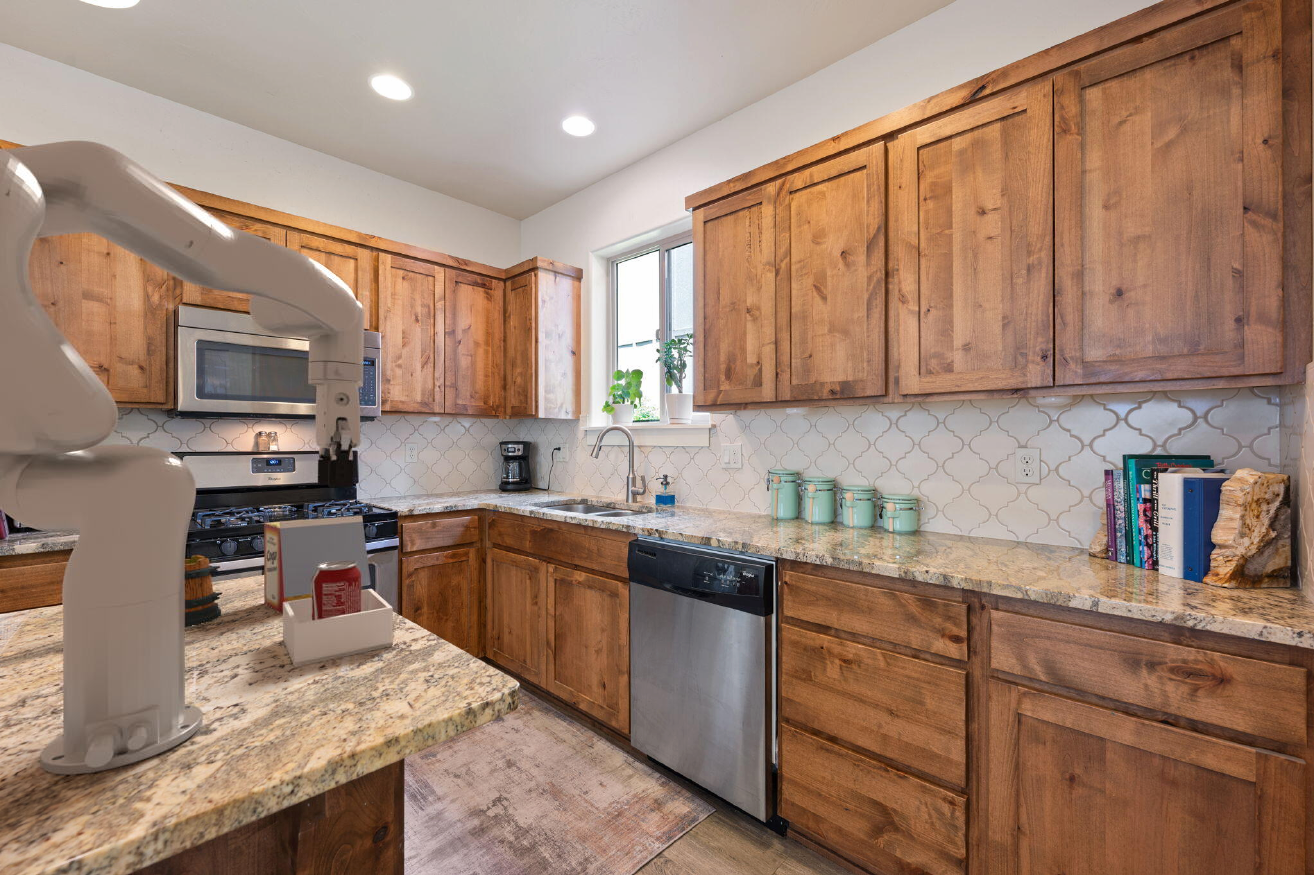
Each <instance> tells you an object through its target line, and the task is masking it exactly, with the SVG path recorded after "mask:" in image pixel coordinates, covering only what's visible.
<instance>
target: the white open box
mask: <svg viewBox="0 0 1314 875" xmlns="http://www.w3.org/2000/svg"><path fill="white" fill-rule="evenodd" d="M393 629H394V608H393V606H392V605H391V604H390V603H388V601H386V600H385V599H384V598H382V597H381V596H380V595H379V594H378V593H377V592H376V591H375V590H374V589H373V588H368V589H361V612H359V613H353V614H347V615H341V616H336V617H330V618H324V619H318V620H313V621H312V598H308V599H301V600H295V601H288V602H283V613H282V640H283V643H284V645H285V649H286V650H287V653H288V655H289V658H290V660H291V662H292V665H293V668H297V667H302V666H303V667H304V666H306V665H307V666H308V665H312V664H315V663H320V662H325V661H330V660H334V659H340V658H345V657H349V656H353V655H358V654H363V653H367V652H372V650H373V651H376V650H377V651H378V650H381V649H386V648H385V647H387V648H390V647H389V646H391V647H393V646H394V644H393V642H394V641H393V640H394V637H393V636H394V630H393ZM392 645H393V646H392Z"/></svg>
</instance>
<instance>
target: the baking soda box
mask: <svg viewBox="0 0 1314 875" xmlns="http://www.w3.org/2000/svg"><path fill="white" fill-rule="evenodd" d="M299 520H300V519H295V520H293V519H292V521H299ZM286 521H287V520H284V521H282V522H286ZM280 522H281V521H274V522H266V523H265V522H264V524H263V525H264V526H263V527H264V528H263V531H264V532H263V538H264V539H263V542H264V543H263V549H264V550H263V555H264V557H263V560H264V562H263V563H264V564H263V569H264V570H263V573H264V574H263V575H264V578H263V579H264V580H263V581H264V582H263V584H264V585H263V588H264V589H263V592H264V594H263V596H264V599H263V600H264V604H265V605H266V604H267V605H266V606H268V607H269V608H271V607H272V608H271V609H273V610H274V609H275V611H276V612H277V611H278V613H279V614H283V602H288V601H295V600H301V599H308V598H312V594H305V595H298V596H291V597H285V598H284V584H283V568H282V552H281V536H280Z"/></svg>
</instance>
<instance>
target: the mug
mask: <svg viewBox="0 0 1314 875" xmlns="http://www.w3.org/2000/svg"><path fill="white" fill-rule="evenodd" d="M220 568H221V566H220V565H216V566H215V565H214V566H213V565H210V560H209V557H205V556H204V555H200V554H197V555H191V557H190V558H187V559H186V558H185V568H184V569H185V571H184V588H185V628H189V627H188V626H190V627H193V626H192V625H196V626H199V624H200V625H202V624H201V623H204V624H207V623H206V622H208V623H210V622H213V621H215V619H216V620H217V618H218V617H219V616H220V617H222V609H221V608H220V607H219V603H218V602H216V601H217V600H220V598H221V597H220V596H221V595H223V592H221V591H220V592H216V591H214V588H213V581H212V574H214V573H217V572H218V571H219V569H220ZM220 617H219V618H220ZM212 620H213V621H212Z"/></svg>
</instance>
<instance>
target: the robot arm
mask: <svg viewBox="0 0 1314 875" xmlns="http://www.w3.org/2000/svg"><path fill="white" fill-rule="evenodd" d="M82 233H83V234H84V233H85V234H86V233H88V234H94V235H96V236H98V237H101V238H103V239H105V240H107V241H109V242H110V243H111V244H114V245H116V246H117V247H119V248H121V249H124V250H125V251H128V252H129V253H131V254H133V255H135V256H137V257H138V258H141V259H142V260H144V261H146V262H148V263H150V264H152V265H154V266H156V267H157V268H159V269H161V270H162V271H164V272H166V273H168V274H170V275H171V276H173V277H175V278H177V279H178V280H181V281H183V282H185V283H188V284H191V285H193V286H194V285H195V286H198V287H203V288H206V289H211V290H217V291H222V292H228V293H237V294H244V295H250V296H251V297H250V298H249V303H248V311H249V314H250V316H251V318H252V320H253V321H254V323H255V324H256V325H257V326H258V327H260V328H261V329H262V330H263V331H265V332H267V333H269V334H272V335H275V336H279V337H287V338H300V339H301V338H303V339H307V340H308V376H307V377H308V378H307V379H308V380H307V381H308V382H307V383H308V385H309V386H315V387H316V397H315V442H316V446H318V448H319V451H318V459H317V483H318V484H319V485H328V487H329V488H333V489H334V488H335V489H336V488H352V487H353V485H354V460H353V459H354V454H353V453H354V452H353V449H358V447H359V446H360V445H361V444H362V443H361V442H362V440H361V439H362V438H361V437H362V436H361V412H360V411H361V410H360V409H361V408H360V394H359V389H360V388H363V387H364V350H365V349H364V348H365V347H364V346H365V345H364V343H365V341H364V340H365V336H364V334H365V332H364V331H365V309H364V307H363V305H362V304H361V302H359V301H358V300H357V299H356V296H355V295H354V293H353V291H352V289H351V288H349V286H348V285H347V284H346V283H345V282H344V281H343V280H341V279H340V278H339V277H338V276H336V274H334V273H333V272H332V271H331V270H329V269H328V268H326V267H325V266H323V265H322V264H320V263H319V262H317V261H316V260H314V259H312V258H311V257H309V256H307V255H306V254H303V253H301V252H299V251H297V250H294V249H292V248H289V247H286V246H284V245H282V244H279V243H276V242H273V241H271V240H267V239H266V238H263V237H261V236H259V235H256V234H253V233H251V232H247V231H246V230H245V231H244V230H243V229H239V228H235V227H232V226H230V225H229V224H227V223H225V222H223V221H222V220H220V218H217V217H216V216H214V215H212V214H211V213H210V212H209V211H207V210H205V209H204V208H202V207H201V206H199V205H198V204H197V203H195V202H194V201H192V200H191V199H189V198H188V197H187V196H185V195H183V193H181V192H180V191H178V190H176V189H175V188H174V187H172V186H171V185H169V184H168V183H166V182H165V181H163V180H162V179H160V178H159V177H157V176H156V175H154V174H153V173H151V172H150V171H149V170H147V169H145V168H144V167H143V166H141V165H140V164H138V163H137V162H135V161H134V160H132V159H131V158H130V157H128V156H126V155H125V154H123V153H121V152H120V151H118V150H117V149H115V148H112V147H110V146H107V145H105V144H103V143H98V142H96V141H95V142H94V141H89V140H65V141H57V142H51V143H42V144H35V145H34V144H33V145H27V146H20V147H13V148H12V147H11V148H3V149H2V148H0V510H1V511H2V512H3V513H4V514H6V515H7V516H8V517H10V518H12V519H13V520H14V521H16V522H17V523H20V524H21V525H24V526H25V527H28V528H32V529H35V530H39V531H43V532H51V533H59V534H60V533H61V534H62V533H63V534H79V535H78V538H77V541H76V544H75V545H74V547H73V550H72V552H71V553H70V557H69V559H68V561H67V564H66V567H65V570H64V575H63V581H62V592H61V593H62V594H61V595H62V598H61V599H62V602H61V603H62V613H63V614H62V621H63V622H62V626H63V629H62V632H63V634H62V635H63V638H62V639H63V640H62V647H63V648H62V649H63V650H62V652H63V653H62V654H63V655H62V660H63V661H62V662H63V663H62V664H63V666H62V669H63V672H62V673H63V674H62V675H63V676H62V677H63V678H62V680H63V681H62V683H63V684H62V685H63V686H62V689H63V691H62V692H63V693H62V694H63V696H62V699H63V702H62V703H63V704H62V705H63V706H62V708H63V709H62V710H63V711H62V712H63V714H62V715H63V722H62V723H63V725H62V726H63V728H62V729H63V731H62V734H60V735H59V736H57V737H56V738H54V739H53V740H52V741H50V742H48V744H47V745H46V746H45V747H44V748H43V749H42V751H41V753H40V766H41V768H42V769H43V770H45V771H47V772H48V773H50V774H51V773H52V774H56V775H57V774H58V775H79V774H80V775H81V774H82V775H83V774H90V773H96V772H101V771H106V770H111V769H115V768H119V767H122V766H123V767H124V766H127V765H130V764H134V763H136V762H139V761H142V760H146V759H148V758H151V757H153V756H156V755H158V754H162V753H164V752H166V751H167V750H169V749H172V748H174V747H176V746H178V745H179V744H181V743H183V742H184V741H185V742H186V740H188V739H189V738H191V737H192V736H193V735H194V734H196V732H197V731H199V729H200V728H201V727H202V724H203V711H202V709H201V708H199V707H198V706H196V705H192V704H186V664H185V663H186V651H185V650H186V649H185V648H186V627H185V588H184V571H185V569H184V568H185V559H186V547H187V546H186V544H187V541H188V540H187V539H188V533H189V526H190V523H191V519H192V515H193V511H194V508H195V503H196V495H197V487H196V480H195V477H194V474H193V472H192V471H191V469H190V467H188V465H187V464H186V463H185V462H184V461H183V460H182V459H181V458H179V457H178V456H176V455H175V454H173V453H171V452H168V451H166V450H163V449H160V448H156V447H152V446H145V445H135V444H133V445H131V444H100V443H102V442H104V441H105V440H106V439H108V438H109V437H110V436H111V434H113V432H114V431H115V430H116V428H117V424H118V422H119V410H118V406H117V403H116V401H115V399H114V397H113V396H112V394H111V392H110V391H109V389H108V388H107V387H106V385H105V384H104V383H103V381H102V379H100V377H99V376H98V375H97V374H96V372H94V371H93V369H92V368H91V367H90V366H89V365H88V363H87V361H85V359H84V358H83V357H82V356H81V354H80V353H79V351H77V350H76V349H75V347H74V346H73V345H72V343H71V342H70V341H69V339H67V337H66V336H65V335H64V333H62V332H61V330H60V329H59V328H58V326H56V324H55V322H54V321H53V320H52V318H50V316H49V314H48V313H47V312H46V310H45V308H44V307H43V306H42V305H41V303H40V301H39V300H38V298H37V296H36V294H35V292H34V289H33V287H32V284H31V280H30V279H31V278H30V272H29V267H30V266H29V265H30V257H31V254H32V253H31V252H32V249H33V245H34V243H35V241H36V240H37V239H42V238H48V237H55V236H62V235H74V234H82Z"/></svg>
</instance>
